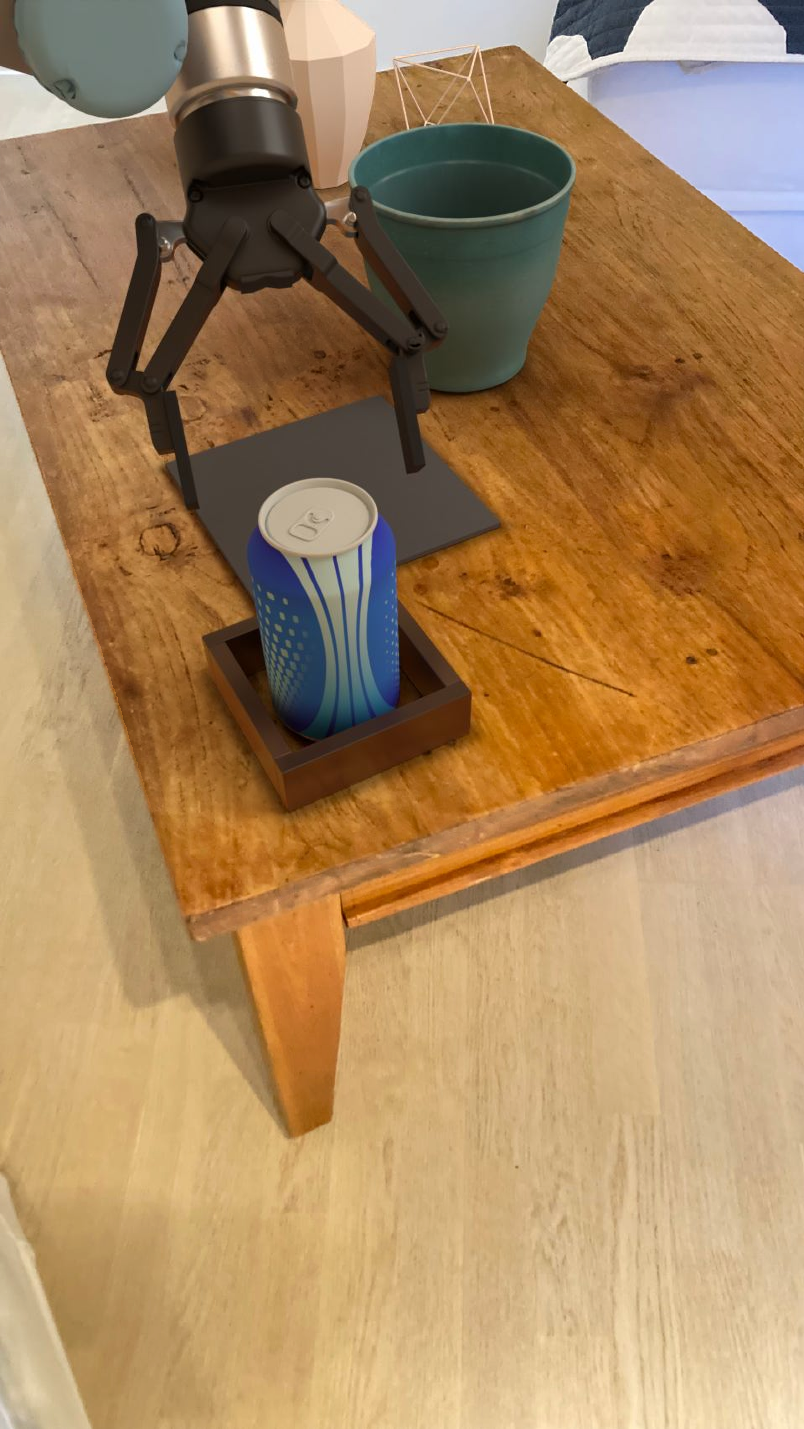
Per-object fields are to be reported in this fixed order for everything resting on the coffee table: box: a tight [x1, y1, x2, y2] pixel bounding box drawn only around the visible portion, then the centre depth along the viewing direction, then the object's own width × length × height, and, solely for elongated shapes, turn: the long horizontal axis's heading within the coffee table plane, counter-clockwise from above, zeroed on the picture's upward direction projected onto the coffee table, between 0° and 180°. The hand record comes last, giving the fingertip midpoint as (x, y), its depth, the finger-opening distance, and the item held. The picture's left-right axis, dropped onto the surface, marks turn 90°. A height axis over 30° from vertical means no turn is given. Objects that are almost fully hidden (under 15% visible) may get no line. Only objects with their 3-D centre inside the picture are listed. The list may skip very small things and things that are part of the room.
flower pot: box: [347, 122, 577, 393], centre depth 90 cm, size 18×18×17 cm
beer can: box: [247, 478, 401, 743], centre depth 64 cm, size 8×8×16 cm
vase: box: [278, 0, 377, 190], centre depth 113 cm, size 14×14×25 cm
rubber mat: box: [164, 393, 502, 605], centre depth 84 cm, size 20×20×1 cm
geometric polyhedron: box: [392, 43, 495, 130], centre depth 124 cm, size 12×11×9 cm
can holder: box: [201, 597, 473, 813], centre depth 69 cm, size 13×13×4 cm
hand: (306, 489), depth 63 cm, fingers open, 13 cm apart
